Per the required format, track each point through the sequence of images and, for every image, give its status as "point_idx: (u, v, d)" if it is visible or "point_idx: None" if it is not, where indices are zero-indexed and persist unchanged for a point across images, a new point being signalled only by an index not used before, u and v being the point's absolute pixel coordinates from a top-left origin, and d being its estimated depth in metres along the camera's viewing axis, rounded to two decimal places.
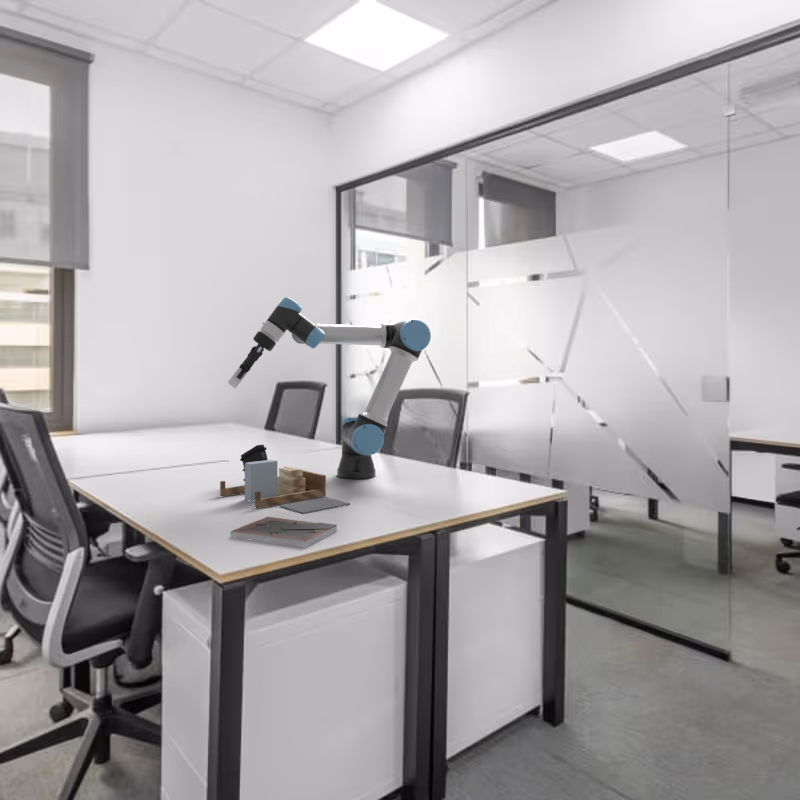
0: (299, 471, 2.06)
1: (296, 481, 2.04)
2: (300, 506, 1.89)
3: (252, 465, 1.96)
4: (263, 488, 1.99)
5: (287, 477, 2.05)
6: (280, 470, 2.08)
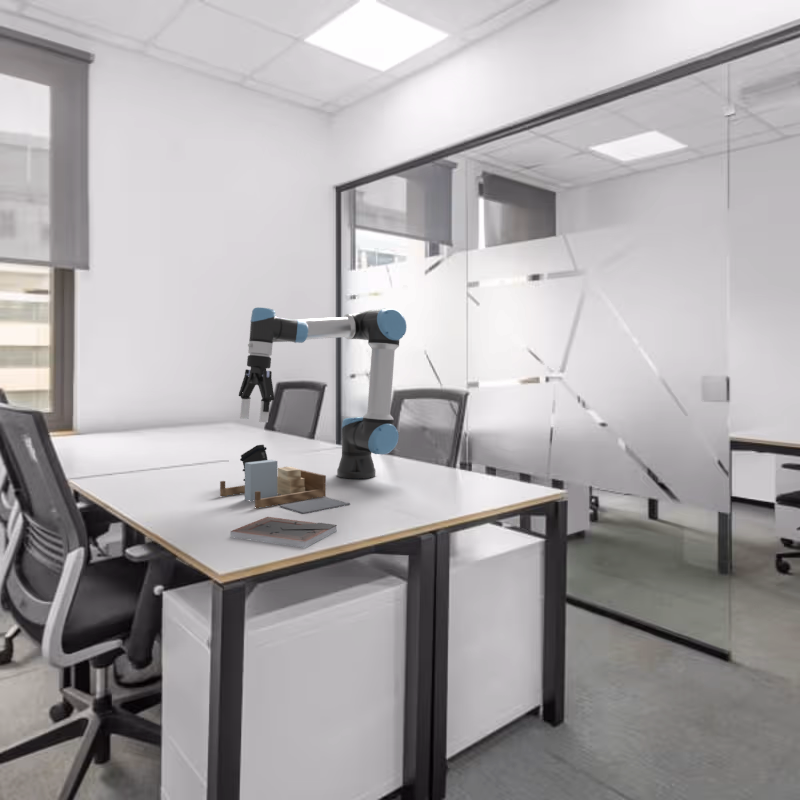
0: (297, 471, 2.06)
1: (295, 481, 2.04)
2: (300, 506, 1.89)
3: (252, 465, 1.96)
4: (263, 488, 1.99)
5: (285, 477, 2.05)
6: (279, 470, 2.08)
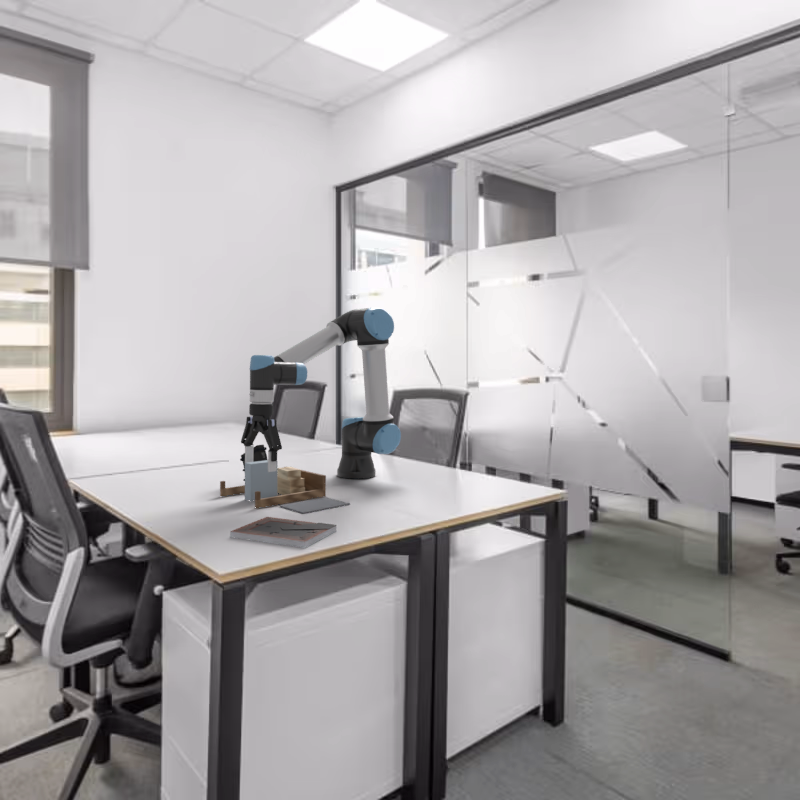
0: (297, 471, 2.06)
1: (294, 481, 2.05)
2: (300, 506, 1.89)
3: (252, 465, 1.96)
4: (263, 488, 1.99)
5: (285, 477, 2.05)
6: (278, 470, 2.08)
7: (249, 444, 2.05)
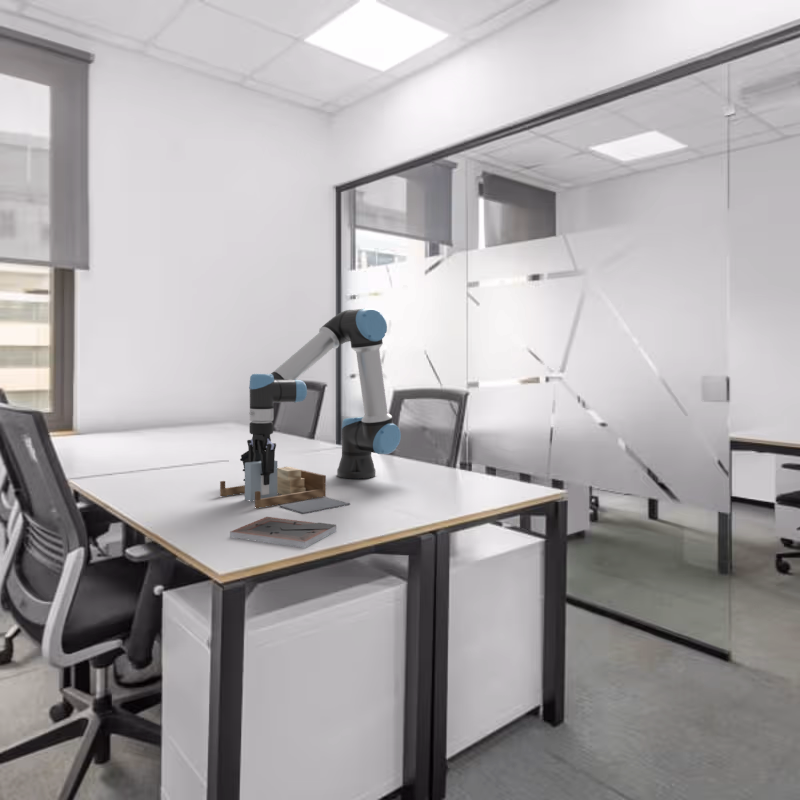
0: (297, 471, 2.06)
1: (295, 481, 2.05)
2: (300, 506, 1.89)
3: (252, 465, 1.96)
4: None
5: (285, 477, 2.05)
6: (278, 470, 2.08)
7: None
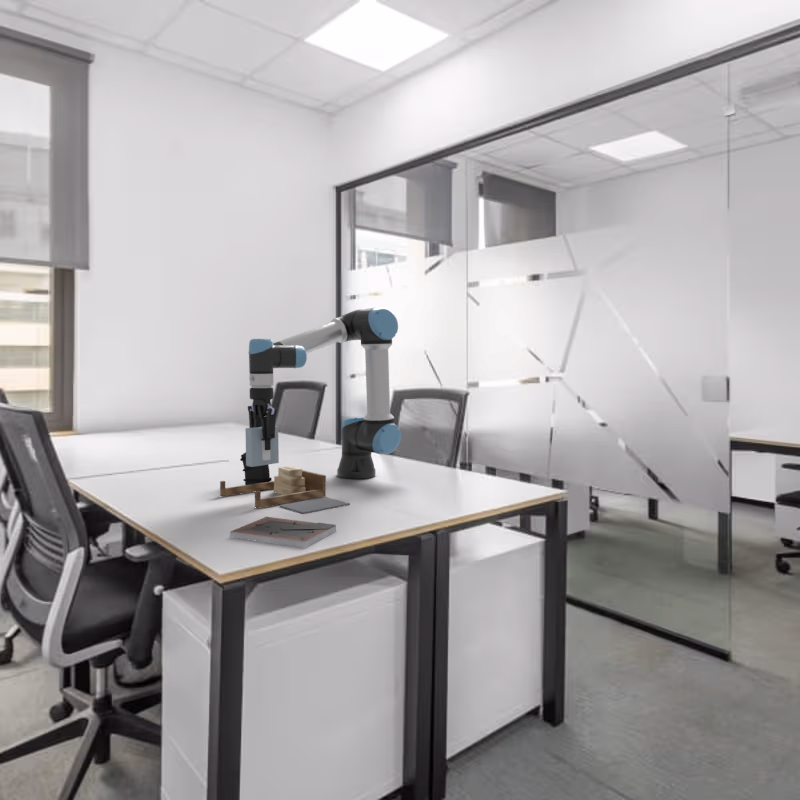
0: (298, 471, 2.06)
1: (295, 481, 2.05)
2: (300, 506, 1.89)
3: (253, 430, 1.95)
4: None
5: (286, 477, 2.05)
6: (279, 470, 2.09)
7: None
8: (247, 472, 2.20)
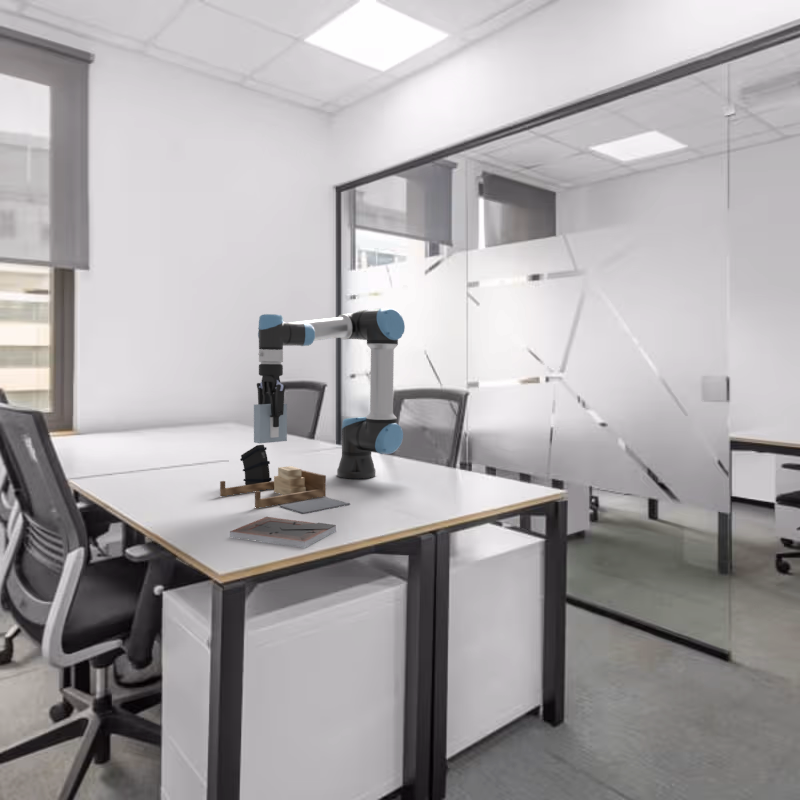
0: (298, 471, 2.06)
1: (294, 481, 2.05)
2: (300, 506, 1.89)
3: (261, 406, 1.93)
4: None
5: (286, 477, 2.05)
6: (279, 470, 2.08)
7: None
8: (247, 472, 2.20)
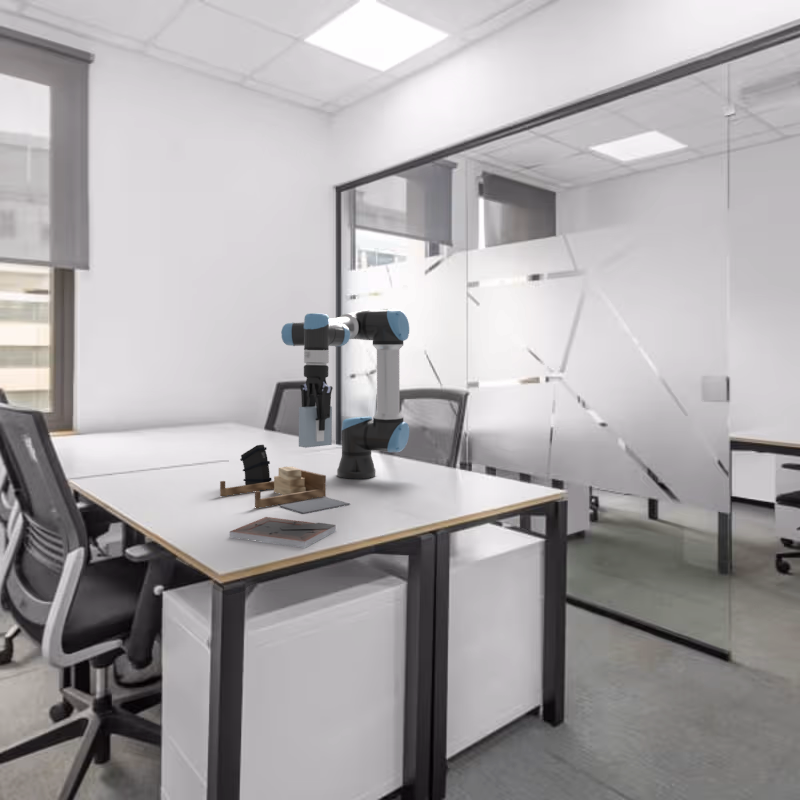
0: (297, 471, 2.06)
1: (294, 481, 2.05)
2: (300, 506, 1.89)
3: (307, 409, 1.86)
4: None
5: (285, 477, 2.05)
6: (279, 470, 2.09)
7: None
8: (247, 472, 2.20)
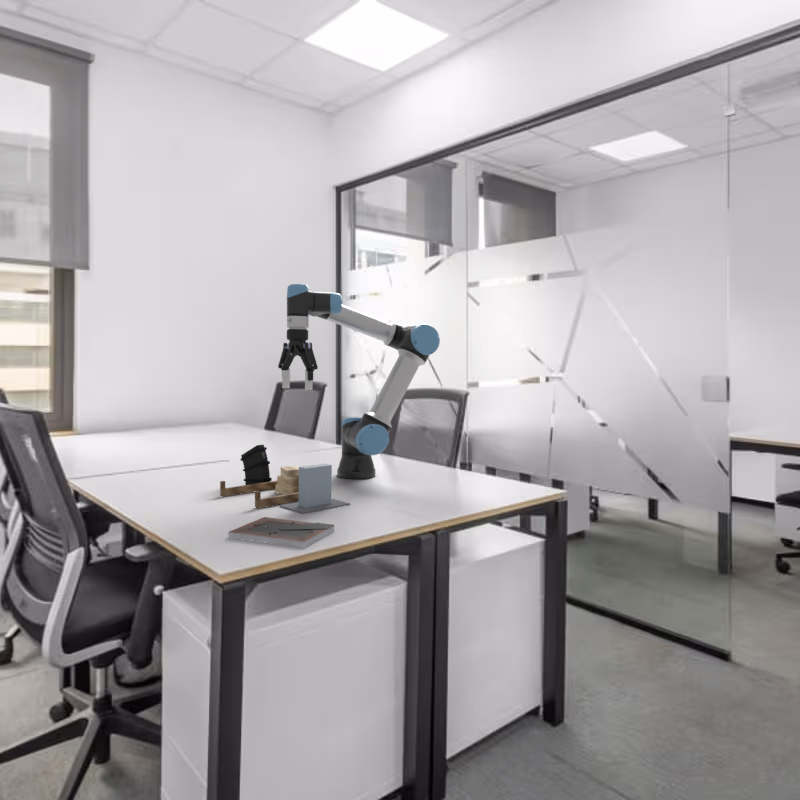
0: (298, 471, 2.06)
1: (296, 481, 2.05)
2: (300, 506, 1.89)
3: (307, 469, 1.87)
4: (317, 493, 1.90)
5: (285, 476, 2.05)
6: (281, 469, 2.09)
7: (286, 368, 2.23)
8: (247, 472, 2.20)
